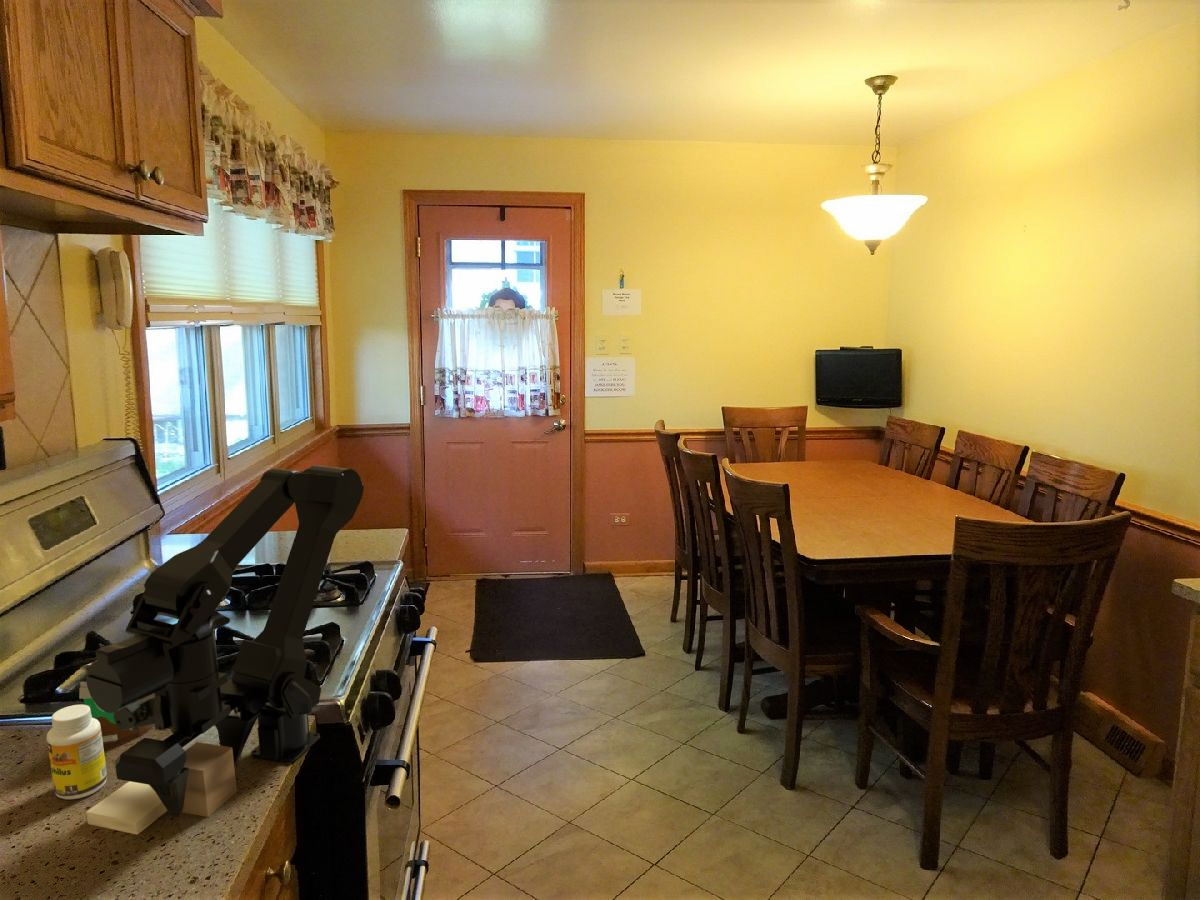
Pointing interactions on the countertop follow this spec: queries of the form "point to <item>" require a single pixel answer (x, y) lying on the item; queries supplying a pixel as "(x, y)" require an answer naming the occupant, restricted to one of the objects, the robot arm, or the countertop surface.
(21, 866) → the countertop surface
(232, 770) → the walnut cube
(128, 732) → the food container
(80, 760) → the supplement bottle
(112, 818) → the birch block
